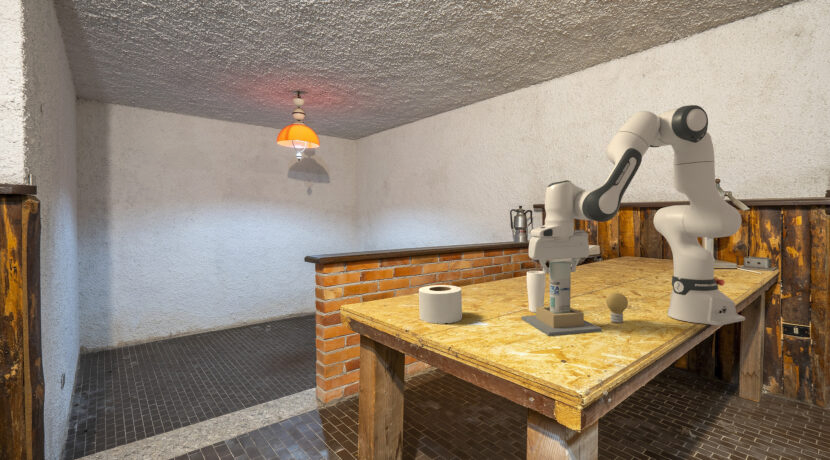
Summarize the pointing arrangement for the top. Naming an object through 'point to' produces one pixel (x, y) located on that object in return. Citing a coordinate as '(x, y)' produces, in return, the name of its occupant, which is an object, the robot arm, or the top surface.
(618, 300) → the light bulb
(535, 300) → the drinking glass
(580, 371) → the top surface
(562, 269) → the spray paint can
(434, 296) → the toilet paper roll
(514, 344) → the top surface
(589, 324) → the socket
